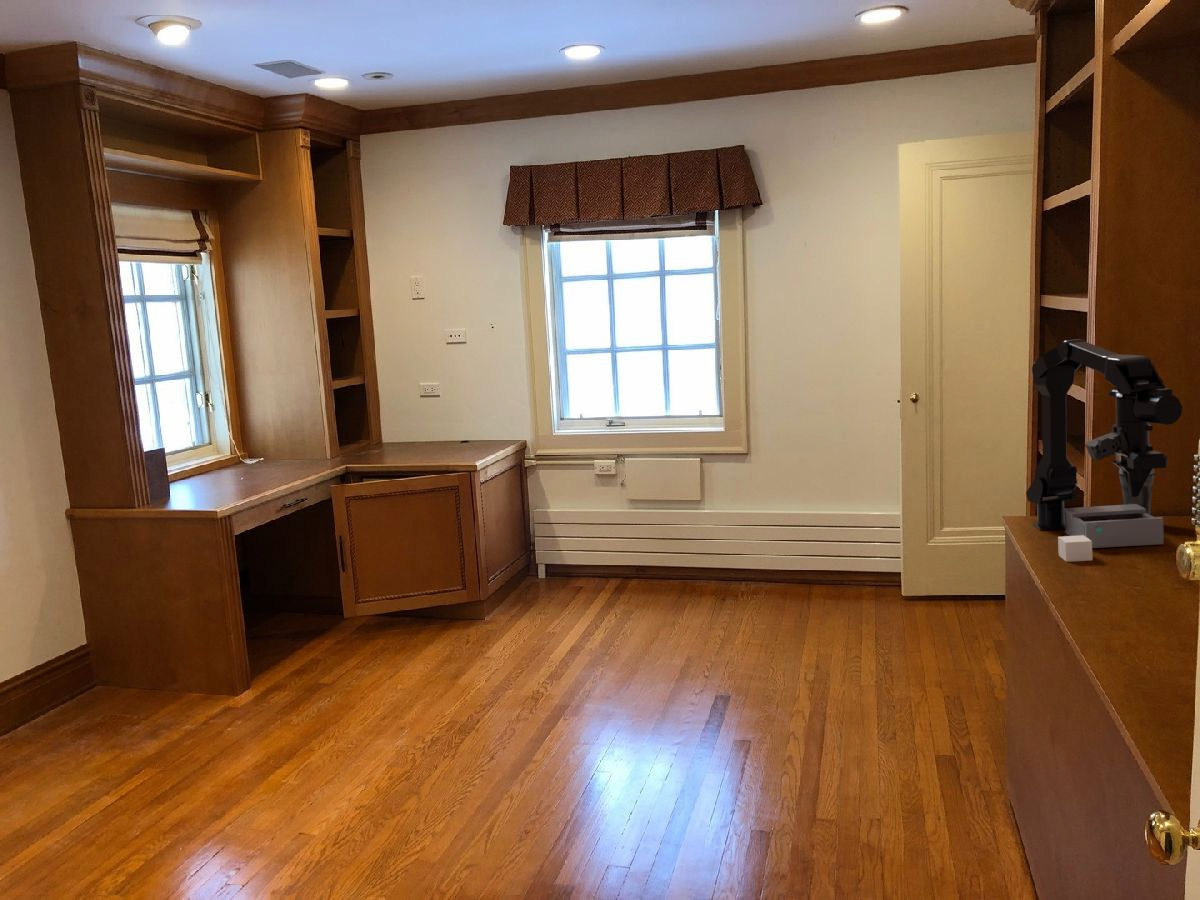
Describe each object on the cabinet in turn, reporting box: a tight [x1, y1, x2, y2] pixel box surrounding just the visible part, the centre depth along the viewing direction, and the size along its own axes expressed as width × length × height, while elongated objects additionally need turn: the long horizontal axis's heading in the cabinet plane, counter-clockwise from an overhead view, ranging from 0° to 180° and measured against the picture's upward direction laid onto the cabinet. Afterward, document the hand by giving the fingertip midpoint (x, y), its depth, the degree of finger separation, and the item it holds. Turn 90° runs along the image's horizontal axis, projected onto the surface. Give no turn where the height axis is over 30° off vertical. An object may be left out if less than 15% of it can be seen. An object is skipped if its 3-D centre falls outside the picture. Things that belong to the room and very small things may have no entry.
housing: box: [1064, 504, 1156, 536], centre depth 212 cm, size 13×15×6 cm
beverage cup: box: [1118, 468, 1156, 515], centre depth 221 cm, size 7×7×20 cm
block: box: [1057, 535, 1093, 563], centre depth 201 cm, size 5×5×4 cm
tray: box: [1084, 516, 1165, 549], centre depth 210 cm, size 14×15×6 cm
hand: (1134, 496), depth 197 cm, fingers closed
